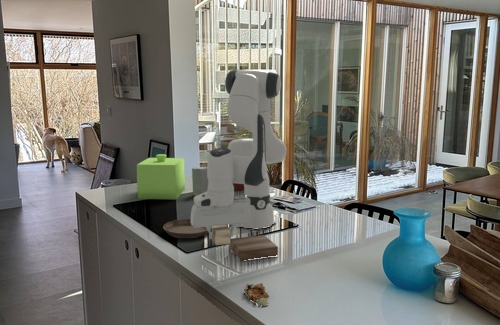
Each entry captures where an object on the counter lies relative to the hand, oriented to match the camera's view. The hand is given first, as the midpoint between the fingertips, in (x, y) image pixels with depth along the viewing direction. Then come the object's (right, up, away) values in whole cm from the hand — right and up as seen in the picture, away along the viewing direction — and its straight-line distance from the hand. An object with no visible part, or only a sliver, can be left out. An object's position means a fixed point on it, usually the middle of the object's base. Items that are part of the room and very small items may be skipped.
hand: (221, 237), depth 153 cm
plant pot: (+2, +9, +124) cm, 125 cm away
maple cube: (0, -2, 0) cm, 2 cm away
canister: (-41, +7, +109) cm, 117 cm away
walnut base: (+11, -8, +15) cm, 21 cm away
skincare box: (-18, +7, +108) cm, 110 cm away
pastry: (+12, -15, -20) cm, 28 cm away
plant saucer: (-17, -5, +40) cm, 43 cm away
